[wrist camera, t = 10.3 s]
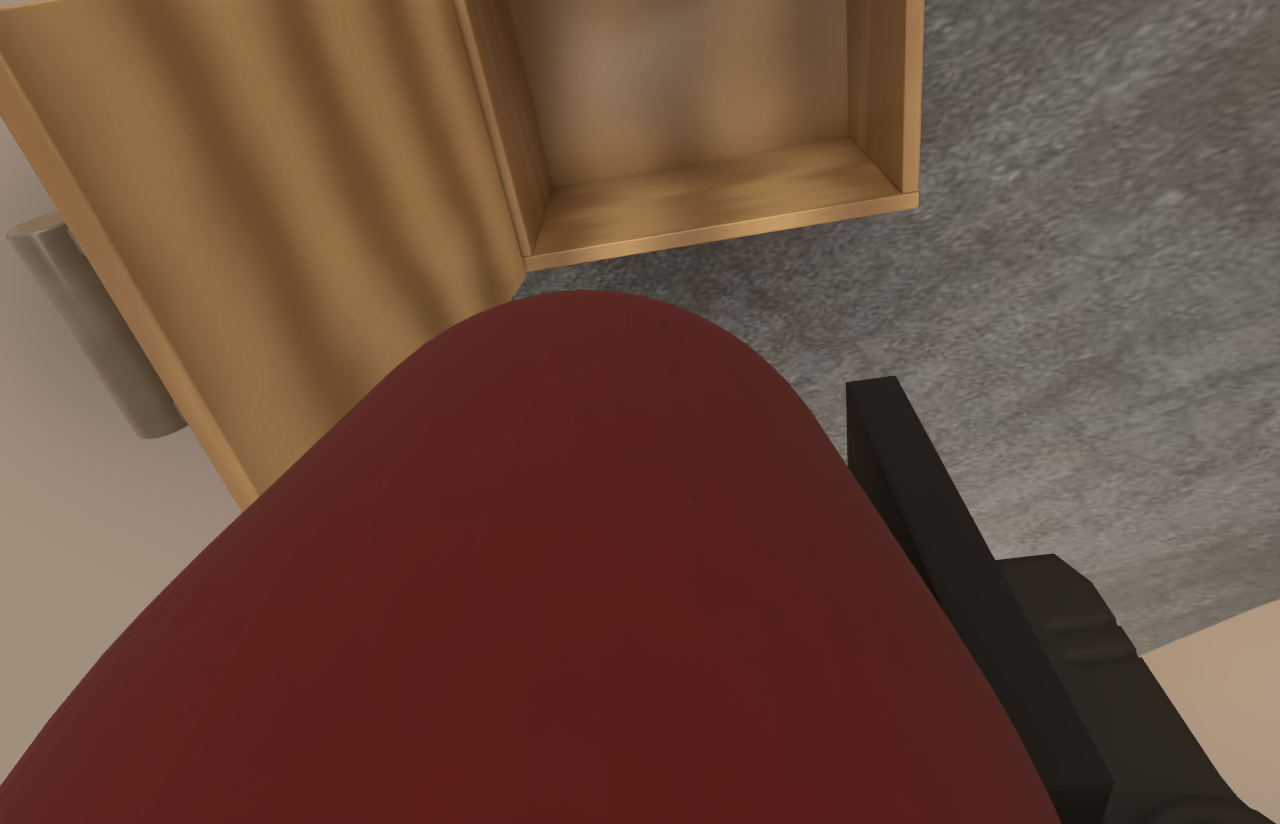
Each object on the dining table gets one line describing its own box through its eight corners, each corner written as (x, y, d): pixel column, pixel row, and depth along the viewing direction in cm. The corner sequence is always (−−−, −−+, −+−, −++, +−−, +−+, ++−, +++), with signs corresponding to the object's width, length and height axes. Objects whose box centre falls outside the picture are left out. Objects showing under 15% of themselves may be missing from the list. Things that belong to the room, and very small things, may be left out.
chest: (855, -151, 38) (930, -170, 28) (859, 143, 46) (919, 208, 36) (478, -72, 40) (426, -65, 30) (544, 198, 48) (520, 273, 38)
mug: (789, 660, 16) (922, 1431, 8) (415, 646, 16) (170, 1405, 8) (897, 168, 11) (1761, 1147, 2) (316, 147, 11) (-931, 1053, 2)
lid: (-26, 11, 13) (-231, 57, 14) (314, 593, 21) (162, 590, 22) (433, -67, 30) (319, -42, 31) (527, 276, 38) (433, 285, 39)
